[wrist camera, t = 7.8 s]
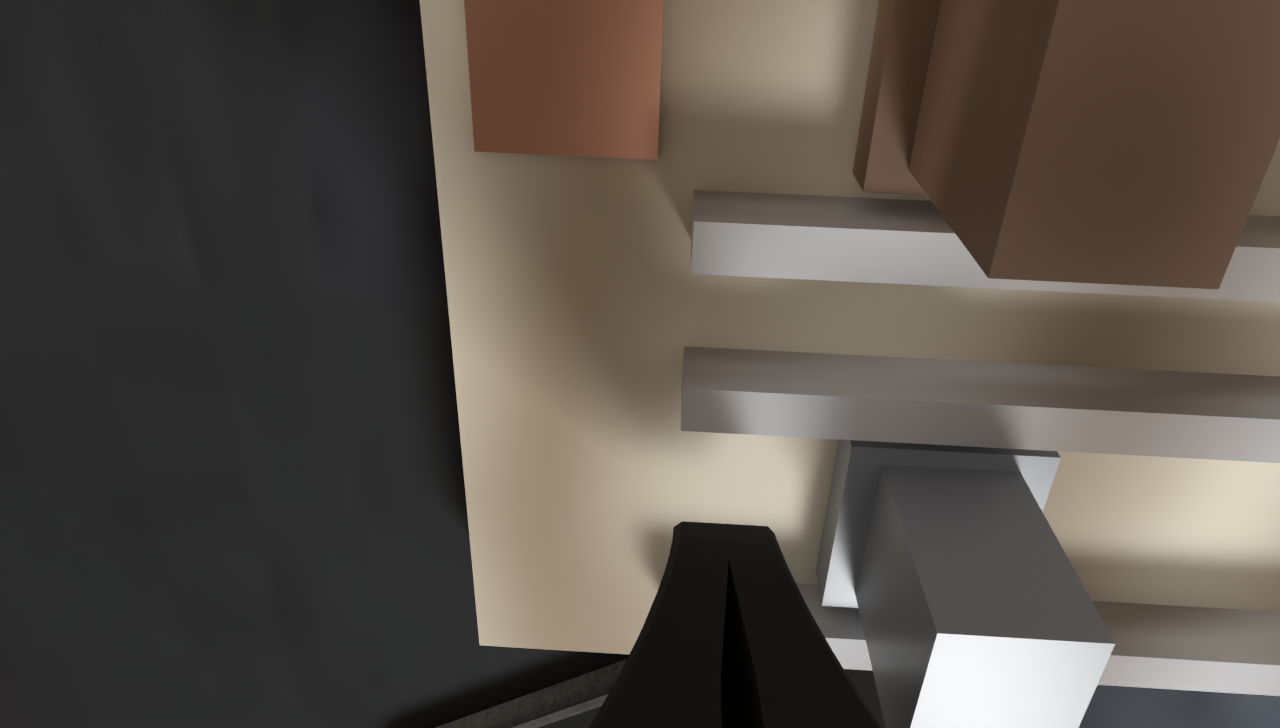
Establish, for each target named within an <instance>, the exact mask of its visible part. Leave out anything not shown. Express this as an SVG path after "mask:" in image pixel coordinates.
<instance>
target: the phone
mask: <svg viewBox="0 0 1280 728" xmlns="http://www.w3.org/2000/svg"><path fill="white" fill-rule="evenodd" d="M626 660H627V659H625V660H623V661H620V662H617V663H614V664H611V665H609V666H606V667H603V668H600V669H598V670H595V671H592V672H589V673H586V674H584V675H581V676H578V677H575V678H572V679H570V680H567V681H564V682H561V683H558V684H556V685H553V686H550V687H547V688H544V689H542V690H539V691H536V692H533V693H530V694H528V695H525V696H522V697H519V698H517V699H514V700H511V701H508V702H505V703H503V704H500V705H497V706H494V707H491V708H489V709H486V710H483V711H480V712H477V713H475V714H472V715H469V716H466V717H463V718H461V719H458V720H455V721H452V722H450V723H447V724H444V725H441V726H438V727H436V728H589V726H590V724H591V723H592V721H593V719H594V718H595V716H596V715H597V713H598V711H599V710H600V708H601V706H602V705H603V703H604V701H605V699H606V698H607V696H608V694H609V692H610V691H611V689H612V687H613V685H614V683H615V682H616V680H617V678H618V676H619V674H620V672H621V670H622V668H623V666H624V664H625V662H626ZM844 670H845V672H846V674H847V675H848V677H849V678H850V680H851V681H852V683H853V684H854V686H855V687H856V689H857V690H858V692H859V694H860V695H861V697H862V698H863V700H864V701H865V703H866V704H867V706H868V707H869V708H870V710H871V711H872V713H873V714H874V716H875V717H876V719H877V720H878V721H879V723H880V724H881V726H882V727H883V728H886V727H885V723H884V718H883V714H882V709H881V705H880V701H879V696H878V692H877V687H876V683H875V679H874V674H873V671H870V670H854V669H844Z"/></svg>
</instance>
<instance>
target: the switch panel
mask: <svg viewBox="0 0 1280 728" xmlns="http://www.w3.org/2000/svg"><path fill="white" fill-rule="evenodd" d="M878 6H879V0H420V11H421V21H422V32H423V43H424V53H425V64H426V75H427V86H428V96H429V107H430V118H431V129H432V139H433V150H434V161H435V172H436V182H437V193H438V204H439V214H440V225H441V236H442V247H443V257H444V268H445V279H446V290H447V300H448V311H449V322H450V332H451V343H452V354H453V365H454V375H455V386H456V397H457V408H458V418H459V429H460V440H461V451H462V461H463V472H464V483H465V493H466V504H467V515H468V526H469V536H470V547H471V558H472V569H473V579H474V590H475V601H476V611H477V622H478V633H479V644H480V645H484V646H500V647H516V648H532V649H548V650H564V651H580V652H596V653H612V654H628V655H629V654H630V652H631V650H632V648H633V646H634V644H635V642H636V640H637V638H638V636H639V634H640V632H641V630H642V628H643V625H644V623H645V620H646V618H647V616H648V613H649V611H650V608H651V606H652V603H653V601H654V599H655V596H656V594H657V591H658V589H659V586H660V583H661V580H662V577H663V574H664V571H665V568H666V565H667V561H668V558H669V554H670V549H671V544H672V539H673V528H674V526H676V525H677V524H679V523H680V522H682V521H686V522H703V523H720V524H738V525H755V526H768V527H769V528H770V529H771V530H772V531H773V532H774V533H775V536H776V539H777V542H778V544H779V547H780V549H781V552H782V554H783V556H784V559H785V561H786V563H787V566H788V568H789V570H790V572H791V574H792V576H793V579H794V581H795V583H796V585H797V587H798V589H799V591H800V593H801V595H802V597H803V599H804V601H805V603H806V604H807V606H808V608H809V610H810V612H811V614H812V616H813V617H814V619H815V621H816V623H817V624H818V626H819V628H820V630H821V632H822V633H823V635H824V637H825V639H826V640H827V642H828V644H829V646H830V647H831V649H832V651H833V652H834V654H835V656H836V657H837V659H838V661H839V662H840V664H841V666H842V667H843V669H854V670H870V671H873V670H872V665H871V661H870V657H869V652H868V648H867V643H866V639H865V635H864V630H863V626H862V621H861V617H860V613H859V608H848V607H831V606H822V604H821V598H820V593H819V587H818V582H817V576H816V567H817V561H818V555H819V550H820V544H821V539H822V533H823V527H824V522H825V516H826V510H827V505H828V499H829V493H830V488H831V482H832V477H833V471H834V465H835V460H836V454H837V448H838V443H839V439H840V440H859V441H878V442H896V443H915V444H933V445H952V446H970V447H989V448H1008V449H1026V450H1045V451H1057V452H1058V454H1059V455H1060V457H1061V460H1060V463H1059V465H1058V468H1057V471H1056V474H1055V477H1054V480H1053V483H1052V486H1051V489H1050V492H1049V495H1048V498H1047V501H1046V504H1045V507H1044V509H1043V514H1044V516H1045V517H1046V519H1047V521H1048V523H1049V525H1050V527H1051V528H1052V530H1053V532H1054V534H1055V536H1056V537H1057V539H1058V541H1059V543H1060V545H1061V547H1062V548H1063V550H1064V552H1065V554H1066V556H1067V557H1068V559H1069V561H1070V563H1071V565H1072V566H1073V568H1074V570H1075V572H1076V574H1077V576H1078V577H1079V579H1080V581H1081V583H1082V585H1083V586H1084V588H1085V590H1086V592H1087V594H1088V595H1089V597H1090V599H1091V601H1092V603H1093V605H1094V606H1095V608H1096V610H1097V612H1098V614H1099V615H1100V617H1101V619H1102V621H1103V623H1104V625H1105V626H1106V628H1107V630H1108V632H1109V634H1110V635H1111V637H1112V639H1113V641H1114V643H1115V646H1114V648H1113V650H1112V653H1111V655H1110V657H1109V659H1108V662H1107V664H1106V666H1105V668H1104V671H1103V673H1102V675H1101V678H1100V680H1099V682H1098V684H1097V685H1111V686H1127V687H1143V688H1159V689H1175V690H1191V691H1207V692H1223V693H1239V694H1255V695H1271V696H1280V139H1279V142H1278V144H1277V147H1276V149H1275V152H1274V154H1273V157H1272V159H1271V162H1270V164H1269V166H1268V169H1267V171H1266V174H1265V176H1264V179H1263V181H1262V184H1261V186H1260V189H1259V191H1258V194H1257V196H1256V199H1255V201H1254V203H1253V206H1252V208H1251V211H1250V213H1249V216H1248V218H1247V221H1246V223H1245V226H1244V228H1243V231H1242V233H1241V236H1240V238H1239V240H1238V243H1237V245H1236V248H1235V250H1234V253H1233V255H1232V258H1231V260H1230V263H1229V265H1228V268H1227V270H1226V273H1225V275H1224V277H1223V280H1222V282H1221V285H1220V287H1219V289H1200V288H1179V287H1158V286H1137V285H1116V284H1095V283H1074V282H1053V281H1032V280H1011V279H990V278H988V277H987V276H986V275H985V273H984V272H983V270H982V269H981V268H980V266H979V265H978V264H977V262H976V261H975V260H974V258H973V257H972V256H971V254H970V253H969V251H968V250H967V249H966V247H965V246H964V245H963V243H962V242H961V241H960V239H959V238H958V237H957V235H956V234H955V232H954V231H953V230H952V228H951V227H950V226H949V224H948V223H947V222H946V220H945V219H944V217H943V216H942V215H941V213H940V212H939V211H938V209H937V208H936V207H935V205H934V204H933V203H932V201H931V200H930V198H929V197H928V196H927V195H916V194H894V193H872V192H863V191H862V189H861V187H860V186H859V184H858V182H857V180H856V178H855V176H854V174H853V173H852V172H853V166H854V159H855V153H856V146H857V140H858V134H859V127H860V121H861V115H862V108H863V102H864V95H865V89H866V83H867V76H868V70H869V64H870V57H871V51H872V45H873V38H874V32H875V25H876V19H877V13H878Z"/></svg>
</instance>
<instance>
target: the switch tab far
mask: <svg viewBox="0 0 1280 728" xmlns="http://www.w3.org/2000/svg"><path fill="white" fill-rule="evenodd" d="M1060 460H1061V457H1060V455H1059V454H1058V452H1057V451H1045V450H1026V449H1008V448H989V447H970V446H952V445H933V444H915V443H896V442H878V441H859V440H840V439H839V443H838V448H837V454H836V460H835V465H834V471H833V477H832V482H831V488H830V493H829V499H828V505H827V510H826V516H825V522H824V527H823V533H822V539H821V544H820V550H819V555H818V561H817V567H816V576H817V582H818V587H819V593H820V598H821V604H822V606H831V607H848V608H859V613H860V617H861V621H862V626H863V630H864V635H865V639H866V643H867V648H868V652H869V657H870V661H871V665H872V670H873V674H874V679H875V683H876V687H877V692H878V696H879V701H880V705H881V709H882V714H883V718H884V723H885V727H886V728H1079V725H1080V723H1081V721H1082V719H1083V716H1084V714H1085V712H1086V709H1087V707H1088V705H1089V703H1090V700H1091V698H1092V696H1093V694H1094V691H1095V689H1096V687H1097V684H1098V682H1099V680H1100V678H1101V675H1102V673H1103V671H1104V668H1105V666H1106V664H1107V662H1108V659H1109V657H1110V655H1111V653H1112V650H1113V648H1114V646H1115V643H1114V641H1113V639H1112V637H1111V635H1110V634H1109V632H1108V630H1107V628H1106V626H1105V625H1104V623H1103V621H1102V619H1101V617H1100V615H1099V614H1098V612H1097V610H1096V608H1095V606H1094V605H1093V603H1092V601H1091V599H1090V597H1089V595H1088V594H1087V592H1086V590H1085V588H1084V586H1083V585H1082V583H1081V581H1080V579H1079V577H1078V576H1077V574H1076V572H1075V570H1074V568H1073V566H1072V565H1071V563H1070V561H1069V559H1068V557H1067V556H1066V554H1065V552H1064V550H1063V548H1062V547H1061V545H1060V543H1059V541H1058V539H1057V537H1056V536H1055V534H1054V532H1053V530H1052V528H1051V527H1050V525H1049V523H1048V521H1047V519H1046V517H1045V516H1044V514H1043V509H1044V507H1045V504H1046V501H1047V498H1048V495H1049V492H1050V489H1051V486H1052V483H1053V480H1054V477H1055V474H1056V471H1057V468H1058V465H1059V463H1060Z"/></svg>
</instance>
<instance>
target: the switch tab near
mask: <svg viewBox="0 0 1280 728" xmlns="http://www.w3.org/2000/svg"><path fill="white" fill-rule="evenodd" d="M1279 139H1280V0H879V6H878V13H877V19H876V25H875V32H874V38H873V45H872V51H871V57H870V64H869V70H868V76H867V83H866V89H865V95H864V102H863V108H862V115H861V121H860V127H859V134H858V140H857V146H856V153H855V159H854V166H853V172H852V173H853V174H854V176H855V178H856V180H857V182H858V184H859V186H860V187H861V189H862V191H863V192H872V193H894V194H916V195H927V196H928V197H929V198H930V200H931V201H932V203H933V204H934V205H935V207H936V208H937V209H938V211H939V212H940V213H941V215H942V216H943V217H944V219H945V220H946V222H947V223H948V224H949V226H950V227H951V228H952V230H953V231H954V232H955V234H956V235H957V237H958V238H959V239H960V241H961V242H962V243H963V245H964V246H965V247H966V249H967V250H968V251H969V253H970V254H971V256H972V257H973V258H974V260H975V261H976V262H977V264H978V265H979V266H980V268H981V269H982V270H983V272H984V273H985V275H986V276H987V277H988V278H990V279H1011V280H1032V281H1053V282H1074V283H1095V284H1116V285H1137V286H1158V287H1179V288H1200V289H1219V287H1220V285H1221V282H1222V280H1223V277H1224V275H1225V273H1226V270H1227V268H1228V265H1229V263H1230V260H1231V258H1232V255H1233V253H1234V250H1235V248H1236V245H1237V243H1238V240H1239V238H1240V236H1241V233H1242V231H1243V228H1244V226H1245V223H1246V221H1247V218H1248V216H1249V213H1250V211H1251V208H1252V206H1253V203H1254V201H1255V199H1256V196H1257V194H1258V191H1259V189H1260V186H1261V184H1262V181H1263V179H1264V176H1265V174H1266V171H1267V169H1268V166H1269V164H1270V162H1271V159H1272V157H1273V154H1274V152H1275V149H1276V147H1277V144H1278V142H1279Z"/></svg>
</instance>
